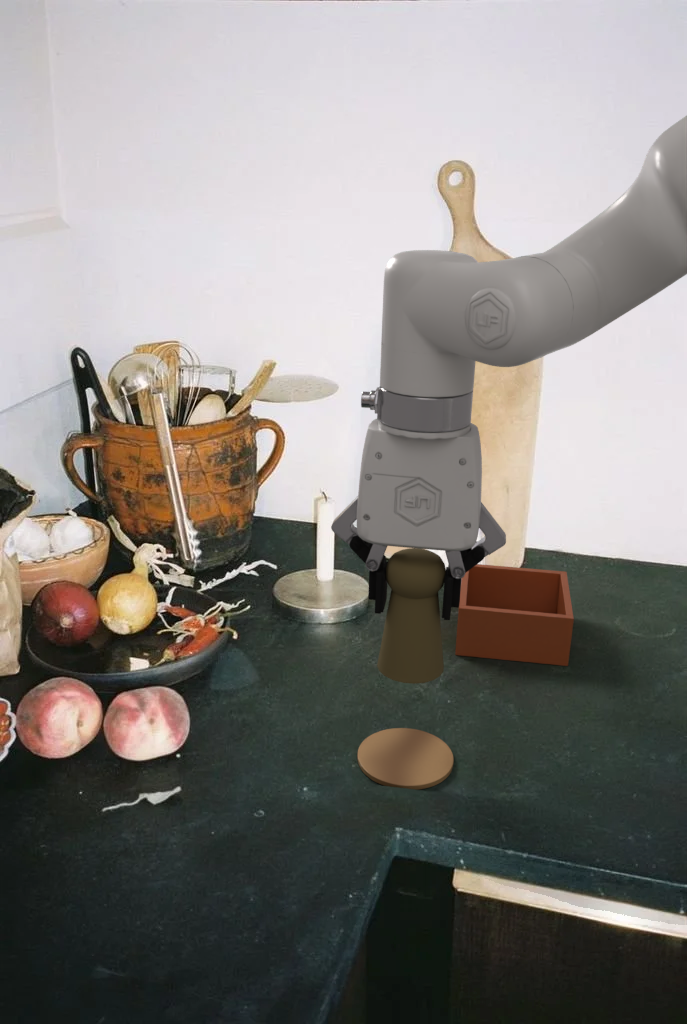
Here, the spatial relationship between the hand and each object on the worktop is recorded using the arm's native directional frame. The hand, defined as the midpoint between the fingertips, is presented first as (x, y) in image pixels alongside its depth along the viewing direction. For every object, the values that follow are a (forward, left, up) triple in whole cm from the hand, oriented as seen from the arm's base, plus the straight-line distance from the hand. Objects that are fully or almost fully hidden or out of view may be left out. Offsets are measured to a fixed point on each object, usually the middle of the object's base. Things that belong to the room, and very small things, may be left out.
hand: (413, 608), depth 82 cm
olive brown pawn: (0, 0, -6) cm, 6 cm away
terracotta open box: (-10, -27, -16) cm, 33 cm away
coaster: (0, 0, -16) cm, 16 cm away
